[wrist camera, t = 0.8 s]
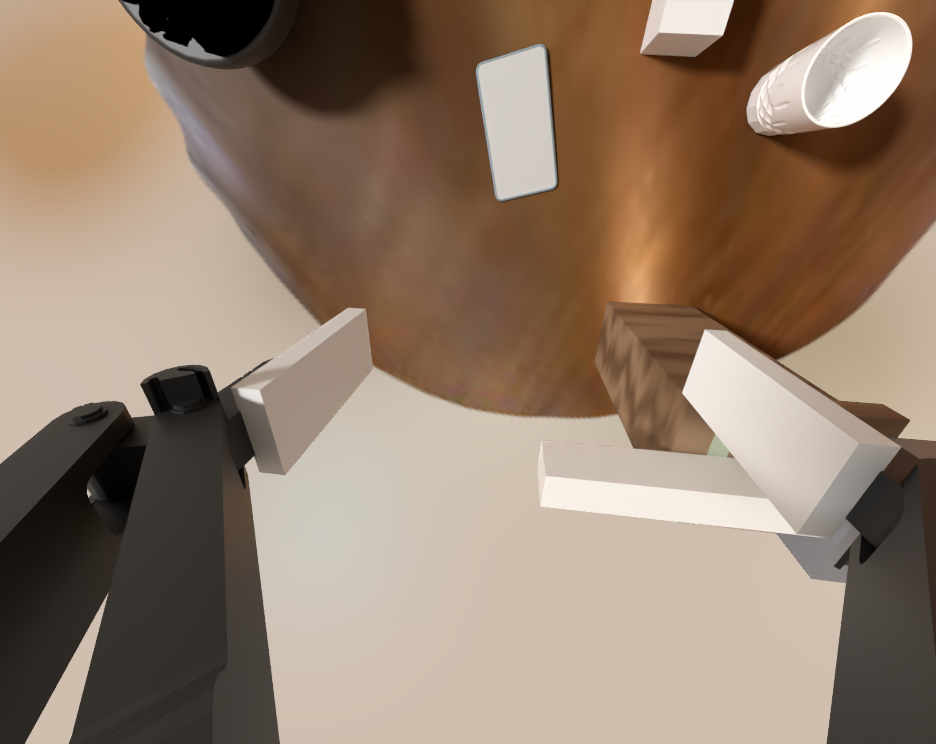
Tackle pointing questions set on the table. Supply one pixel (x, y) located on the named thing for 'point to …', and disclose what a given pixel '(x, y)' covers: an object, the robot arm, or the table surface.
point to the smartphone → (518, 122)
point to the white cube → (684, 26)
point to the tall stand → (678, 379)
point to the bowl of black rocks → (216, 28)
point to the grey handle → (685, 494)
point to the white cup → (833, 78)
